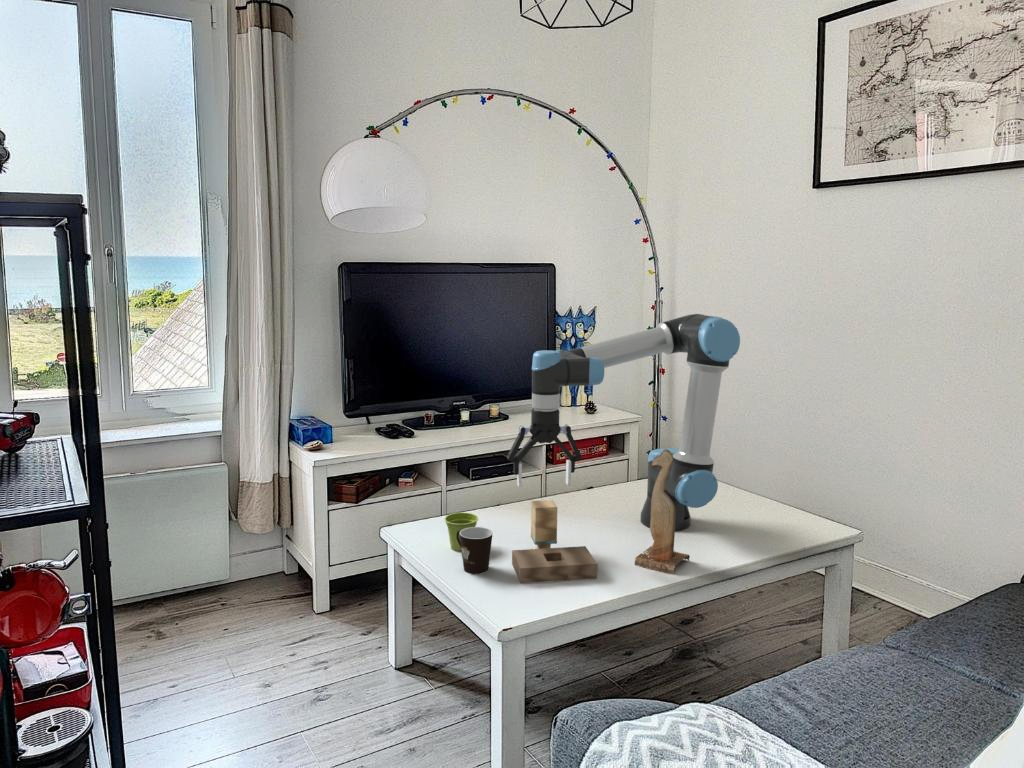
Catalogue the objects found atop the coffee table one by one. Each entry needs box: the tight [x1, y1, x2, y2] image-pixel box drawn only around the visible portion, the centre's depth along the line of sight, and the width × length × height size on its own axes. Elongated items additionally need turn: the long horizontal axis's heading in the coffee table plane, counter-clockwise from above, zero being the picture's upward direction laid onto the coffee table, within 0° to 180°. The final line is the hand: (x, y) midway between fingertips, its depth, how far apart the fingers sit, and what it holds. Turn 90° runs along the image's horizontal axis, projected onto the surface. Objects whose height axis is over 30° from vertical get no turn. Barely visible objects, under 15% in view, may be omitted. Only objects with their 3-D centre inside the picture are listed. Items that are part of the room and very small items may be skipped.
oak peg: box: [530, 499, 558, 549], centre depth 216 cm, size 6×6×14 cm
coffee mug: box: [456, 526, 494, 575], centre depth 206 cm, size 12×9×10 cm
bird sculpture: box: [634, 448, 690, 575], centre depth 208 cm, size 11×12×32 cm
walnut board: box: [511, 545, 599, 584], centre depth 204 cm, size 20×12×4 cm, turn 100°
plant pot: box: [444, 512, 479, 552], centre depth 220 cm, size 9×9×9 cm
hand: (543, 485), depth 214 cm, fingers open, 13 cm apart
